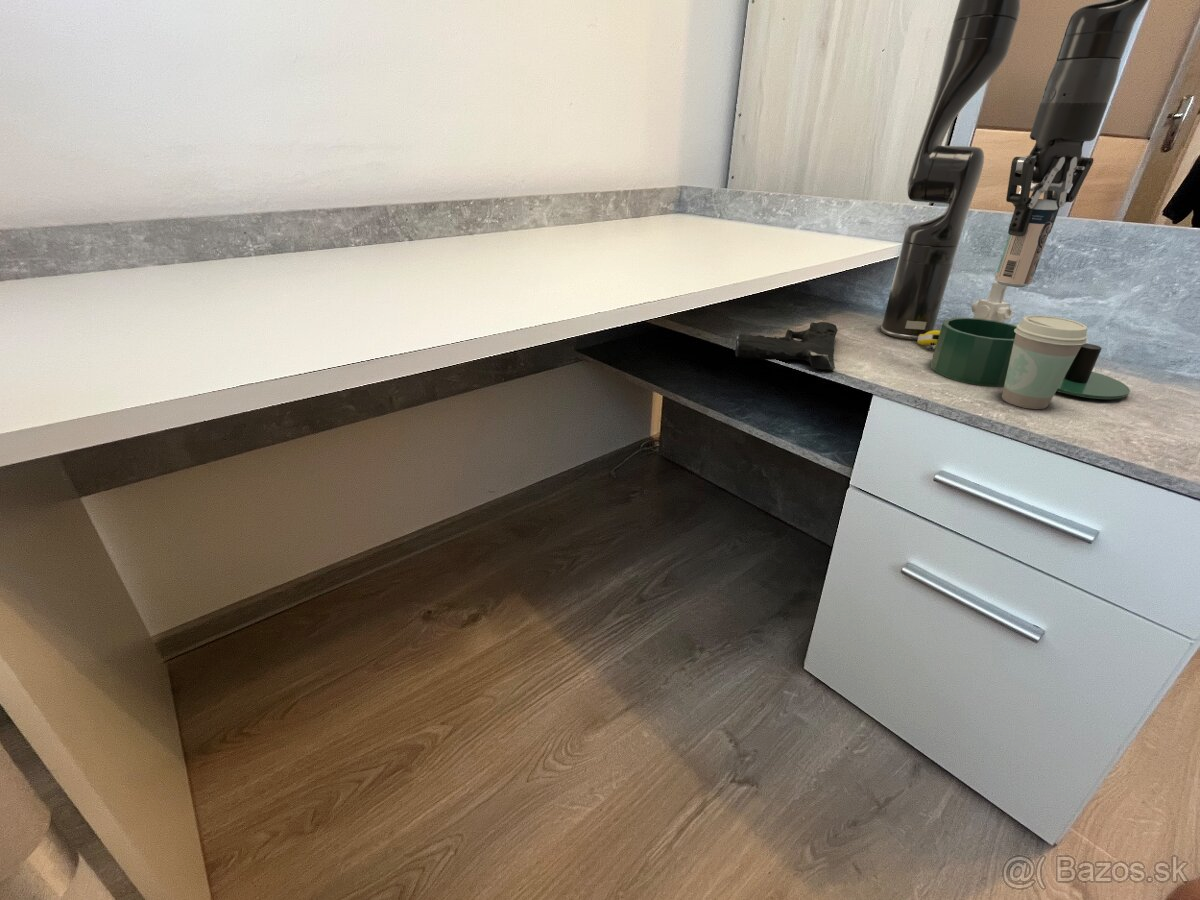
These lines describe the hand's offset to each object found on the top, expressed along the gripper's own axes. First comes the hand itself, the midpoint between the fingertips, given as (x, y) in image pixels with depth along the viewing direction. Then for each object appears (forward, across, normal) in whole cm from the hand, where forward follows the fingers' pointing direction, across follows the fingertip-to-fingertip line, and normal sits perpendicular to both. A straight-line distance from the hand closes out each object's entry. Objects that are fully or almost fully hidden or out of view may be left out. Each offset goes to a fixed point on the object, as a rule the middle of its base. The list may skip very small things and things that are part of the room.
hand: (1028, 234), depth 88 cm
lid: (+22, +10, -8) cm, 25 cm away
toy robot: (+23, +14, +11) cm, 29 cm away
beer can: (+8, 0, 0) cm, 8 cm away
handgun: (+21, -16, +16) cm, 30 cm away
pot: (+22, 0, +2) cm, 22 cm away
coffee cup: (+22, -4, -10) cm, 25 cm away
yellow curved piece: (+22, +6, +12) cm, 26 cm away
